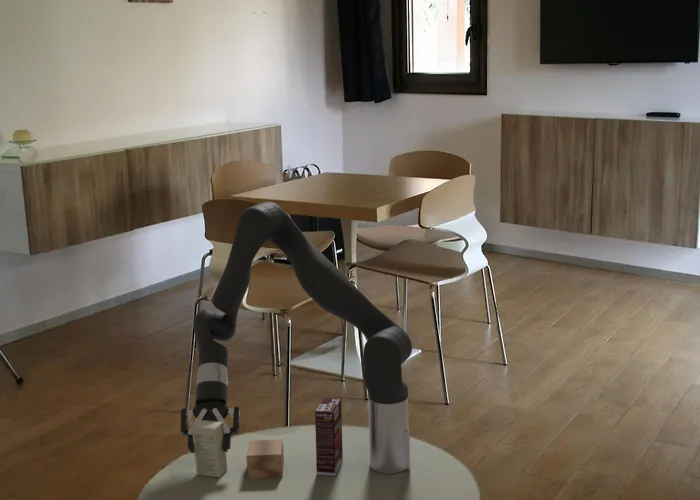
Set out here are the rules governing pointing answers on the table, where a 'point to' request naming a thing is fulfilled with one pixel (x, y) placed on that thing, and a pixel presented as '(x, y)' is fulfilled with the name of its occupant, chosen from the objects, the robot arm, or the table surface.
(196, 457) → the skincare box
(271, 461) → the brown wooden block
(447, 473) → the table surface
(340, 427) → the supplement box
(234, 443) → the table surface
